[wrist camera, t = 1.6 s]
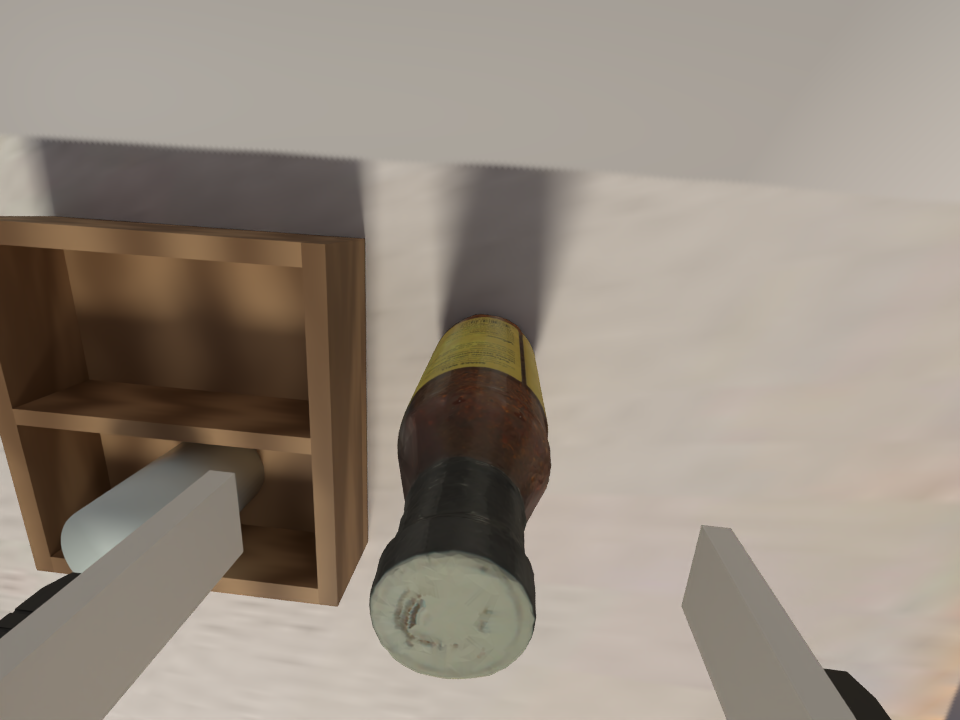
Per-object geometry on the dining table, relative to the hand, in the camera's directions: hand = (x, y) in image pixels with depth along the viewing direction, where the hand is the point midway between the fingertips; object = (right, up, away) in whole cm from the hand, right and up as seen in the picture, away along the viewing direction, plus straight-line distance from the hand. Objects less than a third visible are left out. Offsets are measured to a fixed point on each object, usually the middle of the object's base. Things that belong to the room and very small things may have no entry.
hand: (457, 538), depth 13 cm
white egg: (-17, -2, +19) cm, 26 cm away
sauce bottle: (+1, +5, +17) cm, 18 cm away
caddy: (-17, +3, +19) cm, 26 cm away
